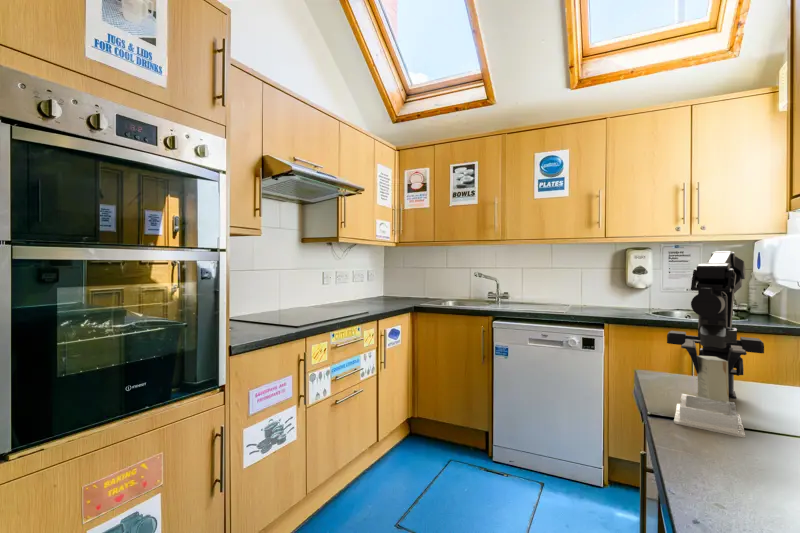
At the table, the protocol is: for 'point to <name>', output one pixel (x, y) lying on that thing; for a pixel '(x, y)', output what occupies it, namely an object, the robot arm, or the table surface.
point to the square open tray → (709, 415)
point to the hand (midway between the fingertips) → (712, 375)
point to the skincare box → (713, 378)
